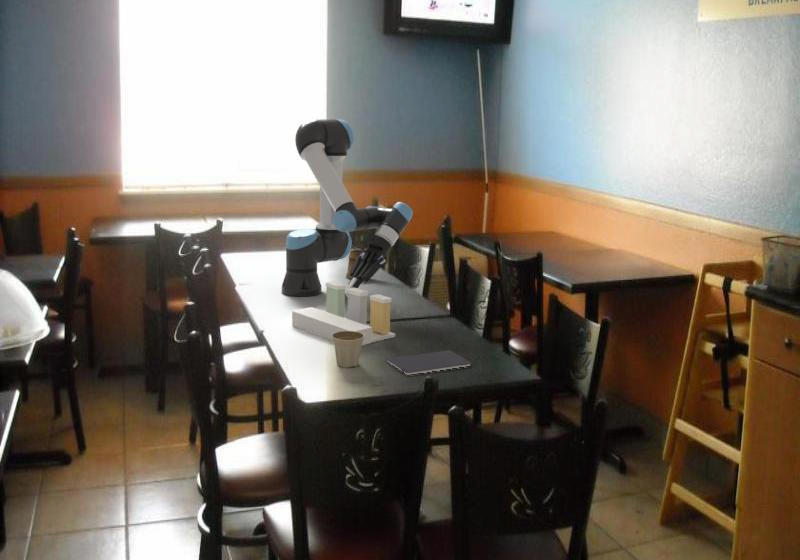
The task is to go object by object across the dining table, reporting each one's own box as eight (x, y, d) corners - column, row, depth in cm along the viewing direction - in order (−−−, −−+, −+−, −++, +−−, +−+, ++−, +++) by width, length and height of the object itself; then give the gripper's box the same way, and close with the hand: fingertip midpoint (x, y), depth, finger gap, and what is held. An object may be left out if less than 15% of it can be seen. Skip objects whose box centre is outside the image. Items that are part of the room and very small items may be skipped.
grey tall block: (354, 320, 271) (355, 287, 268) (367, 324, 267) (368, 291, 264) (346, 322, 269) (347, 289, 266) (359, 326, 264) (360, 292, 262)
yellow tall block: (376, 327, 263) (377, 294, 261) (390, 332, 259) (391, 298, 256) (369, 329, 261) (369, 295, 258) (382, 334, 257) (383, 299, 254)
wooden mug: (379, 280, 336) (381, 236, 331) (347, 280, 333) (347, 236, 329) (377, 275, 344) (378, 233, 340) (345, 275, 342) (345, 232, 338)
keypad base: (334, 316, 280) (334, 302, 279) (395, 336, 260) (395, 321, 258) (292, 325, 268) (292, 310, 267) (352, 347, 247) (352, 331, 246)
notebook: (449, 355, 245) (386, 363, 236) (449, 350, 245) (386, 358, 235) (472, 368, 234) (406, 377, 225) (472, 362, 234) (406, 372, 224)
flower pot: (331, 358, 237) (331, 330, 235) (363, 359, 237) (364, 330, 236) (331, 369, 228) (331, 340, 226) (364, 369, 228) (365, 340, 226)
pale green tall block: (333, 313, 279) (333, 281, 276) (345, 317, 274) (345, 284, 272) (325, 314, 276) (325, 282, 274) (337, 319, 272) (338, 286, 269)
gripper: (401, 250, 282) (365, 305, 274) (375, 245, 291) (340, 298, 283) (390, 236, 277) (353, 292, 269) (364, 232, 286) (328, 285, 278)
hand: (346, 295), depth 276 cm, fingers closed
